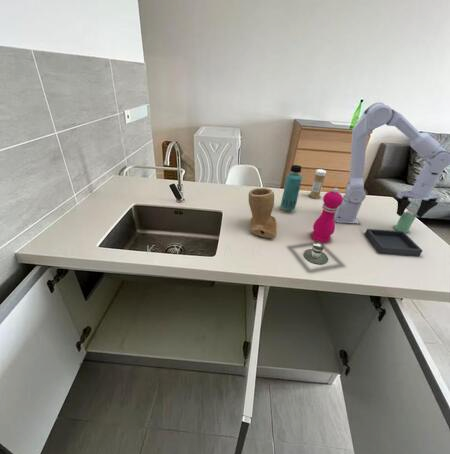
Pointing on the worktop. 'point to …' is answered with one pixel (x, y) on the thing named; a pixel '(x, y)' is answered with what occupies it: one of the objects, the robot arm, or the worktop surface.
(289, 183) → the beverage bottle
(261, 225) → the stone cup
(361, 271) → the worktop surface
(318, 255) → the pot lid
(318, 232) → the pepper mill
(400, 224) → the mint green cylinder
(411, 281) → the worktop surface
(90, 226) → the worktop surface
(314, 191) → the sprinkles bottle
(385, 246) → the dark gray rectangular tray
